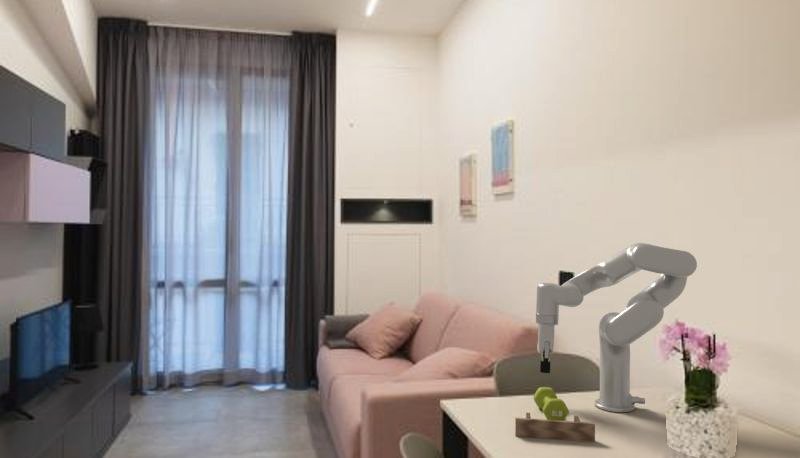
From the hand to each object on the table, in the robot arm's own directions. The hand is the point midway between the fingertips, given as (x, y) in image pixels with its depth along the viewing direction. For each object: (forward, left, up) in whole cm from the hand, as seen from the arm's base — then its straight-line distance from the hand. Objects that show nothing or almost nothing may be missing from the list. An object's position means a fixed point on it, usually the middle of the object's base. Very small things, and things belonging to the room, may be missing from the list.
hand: (545, 372), depth 198 cm
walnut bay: (-1, +28, -11) cm, 30 cm away
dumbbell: (-1, +13, -11) cm, 17 cm away
